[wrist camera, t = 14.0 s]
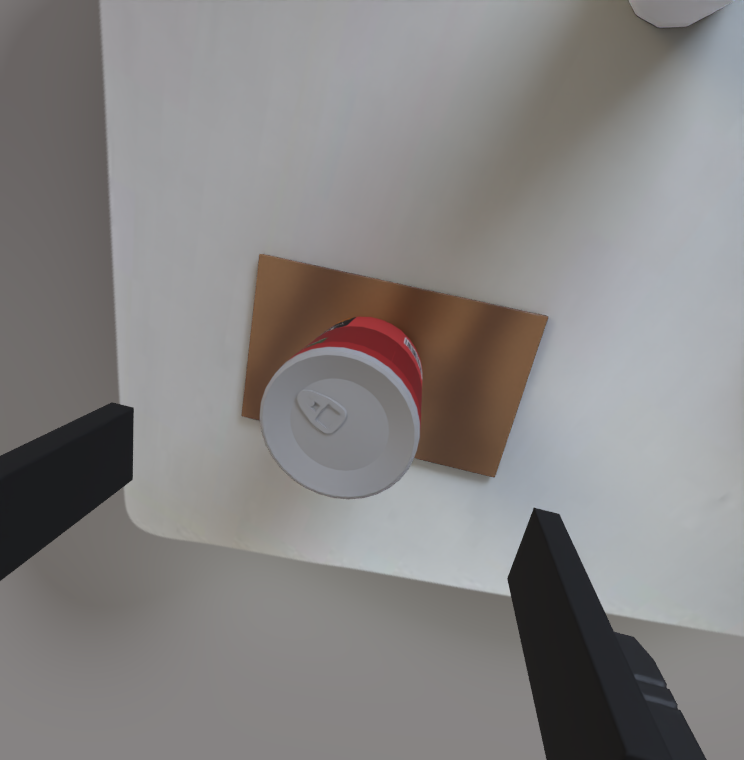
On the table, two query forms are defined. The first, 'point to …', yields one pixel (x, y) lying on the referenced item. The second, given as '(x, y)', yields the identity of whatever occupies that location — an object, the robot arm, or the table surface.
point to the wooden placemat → (429, 336)
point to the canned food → (346, 410)
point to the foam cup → (675, 11)
